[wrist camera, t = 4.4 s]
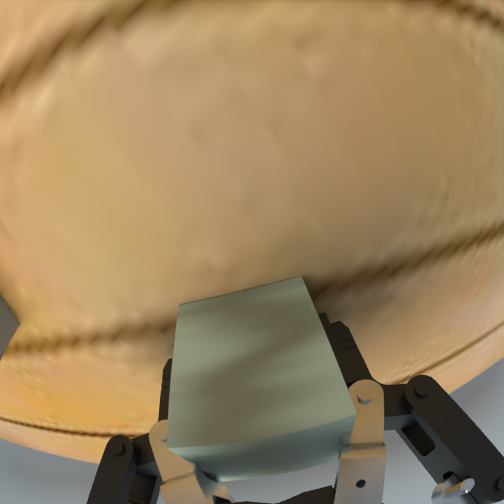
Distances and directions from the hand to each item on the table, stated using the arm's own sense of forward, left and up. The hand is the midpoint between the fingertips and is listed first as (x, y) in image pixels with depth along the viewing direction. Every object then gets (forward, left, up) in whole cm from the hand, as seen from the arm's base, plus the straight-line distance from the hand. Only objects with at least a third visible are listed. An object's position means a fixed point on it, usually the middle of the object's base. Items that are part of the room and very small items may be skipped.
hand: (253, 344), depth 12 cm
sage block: (0, 0, -1) cm, 1 cm away
